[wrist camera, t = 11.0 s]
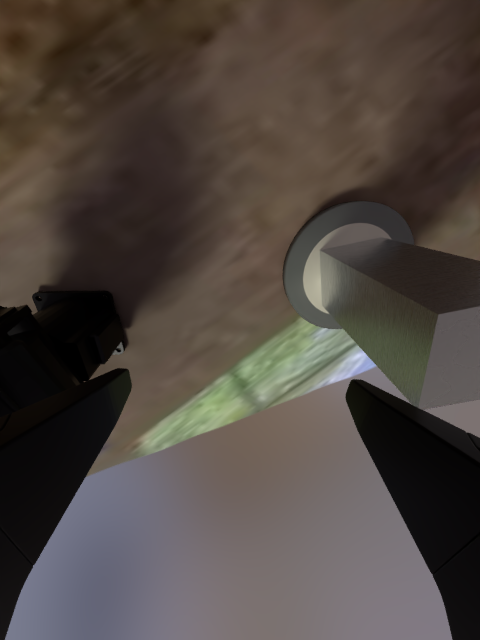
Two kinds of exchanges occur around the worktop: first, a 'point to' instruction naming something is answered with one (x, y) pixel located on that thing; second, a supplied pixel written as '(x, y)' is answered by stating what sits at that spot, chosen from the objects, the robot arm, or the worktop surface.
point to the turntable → (328, 232)
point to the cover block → (409, 315)
